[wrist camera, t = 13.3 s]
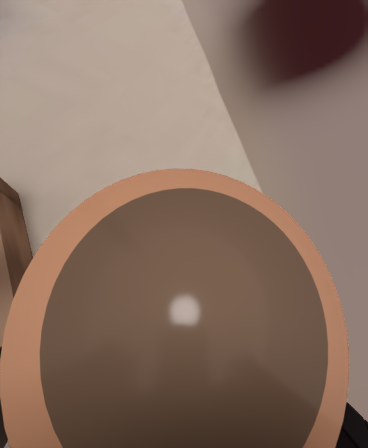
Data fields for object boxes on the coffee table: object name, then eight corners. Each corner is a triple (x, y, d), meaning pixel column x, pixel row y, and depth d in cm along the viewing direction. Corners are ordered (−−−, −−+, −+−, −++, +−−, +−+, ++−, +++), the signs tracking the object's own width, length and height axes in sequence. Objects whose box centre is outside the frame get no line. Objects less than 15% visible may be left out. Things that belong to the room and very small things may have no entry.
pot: (144, 379, 15) (184, 762, 3) (85, 297, 16) (-89, 294, 3) (215, 307, 17) (397, 330, 5) (161, 240, 18) (210, 127, 6)
